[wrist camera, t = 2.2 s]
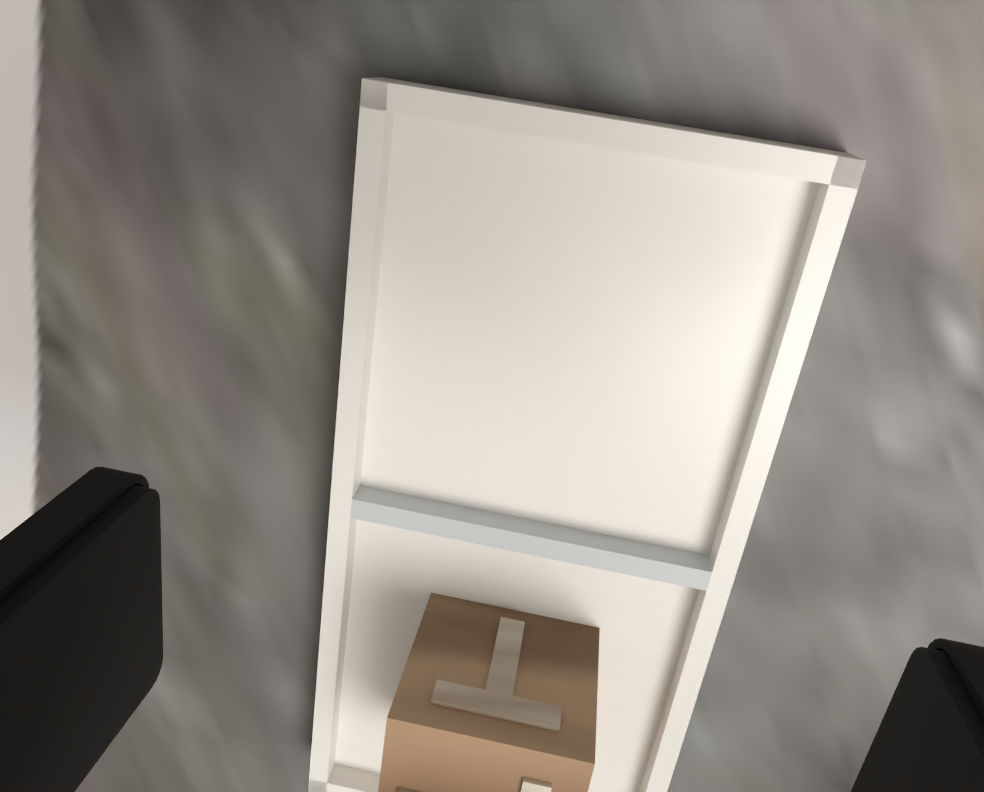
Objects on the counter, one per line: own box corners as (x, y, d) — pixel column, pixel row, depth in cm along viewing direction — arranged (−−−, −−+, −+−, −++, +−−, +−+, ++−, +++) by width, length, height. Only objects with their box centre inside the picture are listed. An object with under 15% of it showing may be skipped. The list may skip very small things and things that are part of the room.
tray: (381, 76, 20) (362, 78, 18) (847, 152, 19) (866, 160, 17) (324, 754, 28) (308, 792, 27) (641, 826, 27) (642, 869, 26)
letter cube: (431, 588, 24) (385, 717, 19) (600, 624, 24) (595, 764, 19) (413, 720, 26) (368, 866, 21) (568, 754, 26) (557, 910, 21)
